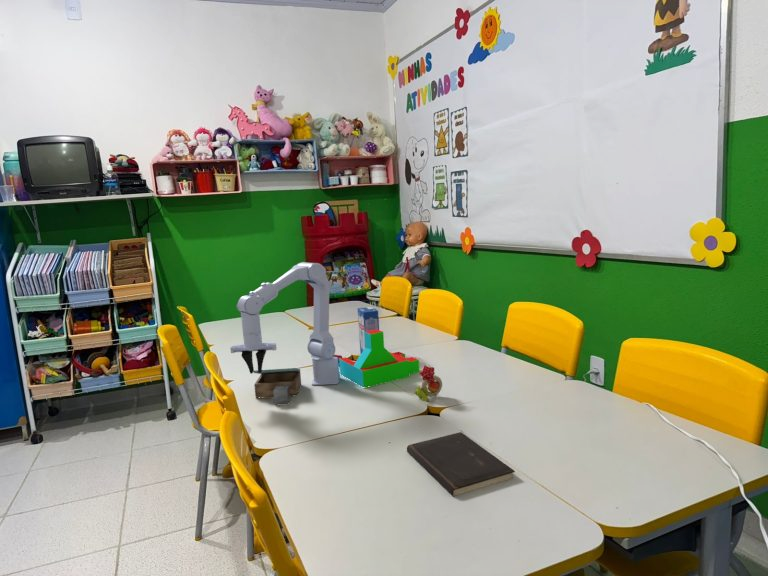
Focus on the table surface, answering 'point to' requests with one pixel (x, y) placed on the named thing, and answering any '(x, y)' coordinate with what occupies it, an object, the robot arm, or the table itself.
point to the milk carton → (367, 323)
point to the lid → (278, 371)
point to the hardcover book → (459, 463)
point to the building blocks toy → (377, 363)
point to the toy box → (277, 383)
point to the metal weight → (281, 394)
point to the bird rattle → (428, 380)
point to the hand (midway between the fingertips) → (256, 372)
